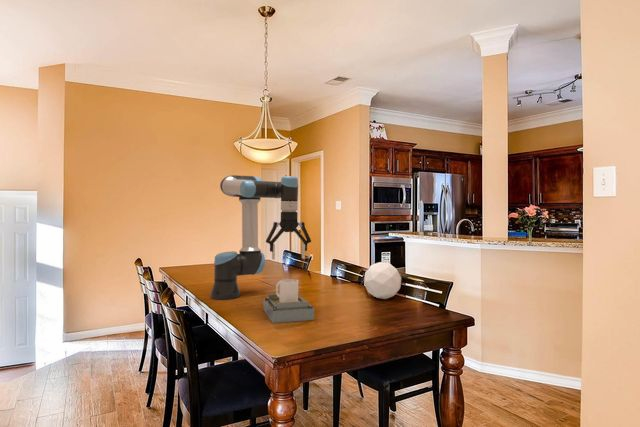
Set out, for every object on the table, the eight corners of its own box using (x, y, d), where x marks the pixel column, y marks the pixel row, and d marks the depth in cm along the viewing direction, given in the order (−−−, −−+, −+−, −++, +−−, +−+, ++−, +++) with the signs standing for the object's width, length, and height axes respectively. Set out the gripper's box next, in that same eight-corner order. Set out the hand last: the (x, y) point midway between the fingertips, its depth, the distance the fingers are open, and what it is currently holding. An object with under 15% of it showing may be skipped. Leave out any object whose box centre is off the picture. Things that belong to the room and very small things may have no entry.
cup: (289, 306, 168) (289, 283, 168) (269, 302, 175) (269, 279, 175) (301, 303, 175) (302, 280, 175) (282, 299, 182) (282, 277, 182)
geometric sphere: (382, 308, 216) (393, 276, 225) (401, 303, 198) (412, 268, 207) (353, 291, 213) (365, 260, 222) (369, 285, 196) (382, 251, 205)
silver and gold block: (263, 309, 183) (263, 293, 183) (301, 307, 188) (301, 291, 188) (272, 323, 162) (272, 305, 162) (314, 319, 167) (314, 302, 167)
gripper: (262, 211, 168) (261, 260, 168) (318, 211, 175) (317, 259, 176) (259, 210, 175) (259, 258, 175) (313, 211, 182) (312, 256, 183)
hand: (288, 258), depth 176 cm, fingers open, 13 cm apart
